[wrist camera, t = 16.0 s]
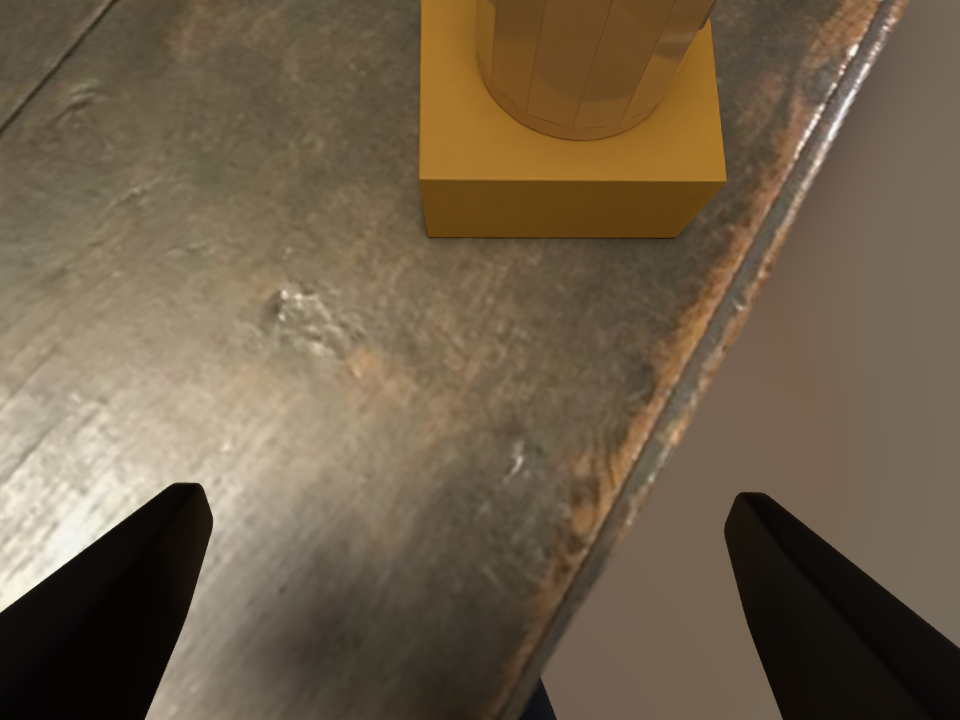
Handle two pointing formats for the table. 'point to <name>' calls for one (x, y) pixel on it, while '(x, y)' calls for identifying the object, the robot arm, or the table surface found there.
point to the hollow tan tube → (584, 59)
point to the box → (557, 151)
